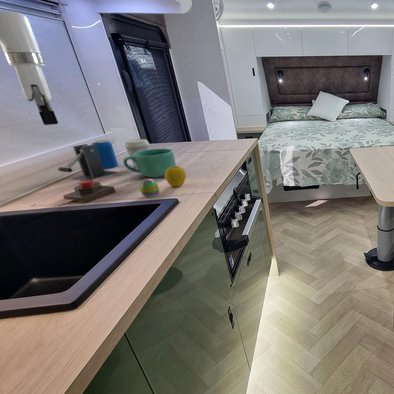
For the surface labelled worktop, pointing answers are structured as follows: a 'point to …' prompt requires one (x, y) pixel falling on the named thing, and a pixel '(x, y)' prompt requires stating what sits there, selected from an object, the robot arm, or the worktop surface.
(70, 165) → the toaster lever
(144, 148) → the coffee cup
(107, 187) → the button block
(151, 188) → the egg
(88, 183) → the stop button
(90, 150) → the toaster bracket
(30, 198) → the worktop surface
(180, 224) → the worktop surface
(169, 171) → the apple
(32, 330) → the worktop surface
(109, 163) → the beverage can
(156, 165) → the mug
